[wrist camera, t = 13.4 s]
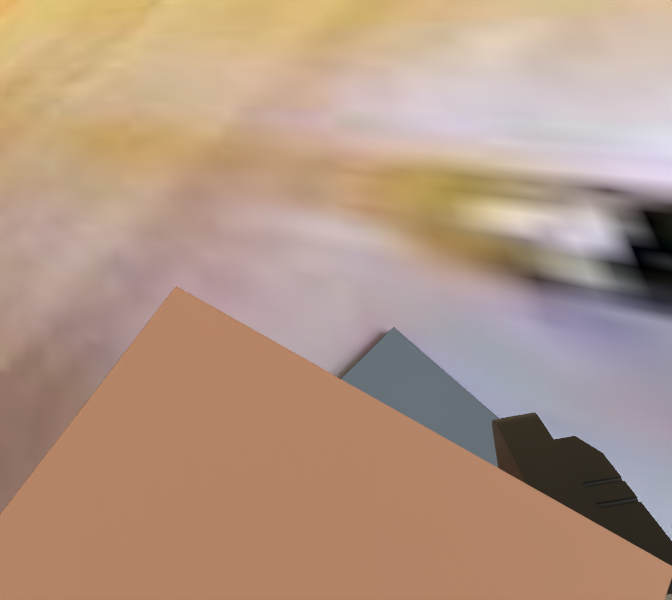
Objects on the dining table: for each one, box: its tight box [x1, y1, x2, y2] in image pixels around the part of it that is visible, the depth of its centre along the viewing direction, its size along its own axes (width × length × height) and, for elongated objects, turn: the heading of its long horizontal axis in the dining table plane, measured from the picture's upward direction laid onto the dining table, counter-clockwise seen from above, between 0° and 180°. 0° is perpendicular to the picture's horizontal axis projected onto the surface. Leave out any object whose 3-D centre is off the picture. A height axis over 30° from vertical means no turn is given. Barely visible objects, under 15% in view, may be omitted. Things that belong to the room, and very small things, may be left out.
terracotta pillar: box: [0, 286, 672, 600], centre depth 8 cm, size 5×5×10 cm
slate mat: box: [341, 327, 499, 468], centre depth 21 cm, size 15×15×1 cm
